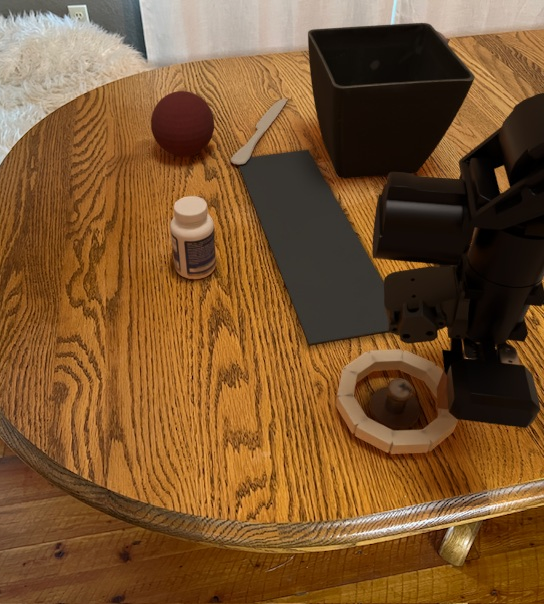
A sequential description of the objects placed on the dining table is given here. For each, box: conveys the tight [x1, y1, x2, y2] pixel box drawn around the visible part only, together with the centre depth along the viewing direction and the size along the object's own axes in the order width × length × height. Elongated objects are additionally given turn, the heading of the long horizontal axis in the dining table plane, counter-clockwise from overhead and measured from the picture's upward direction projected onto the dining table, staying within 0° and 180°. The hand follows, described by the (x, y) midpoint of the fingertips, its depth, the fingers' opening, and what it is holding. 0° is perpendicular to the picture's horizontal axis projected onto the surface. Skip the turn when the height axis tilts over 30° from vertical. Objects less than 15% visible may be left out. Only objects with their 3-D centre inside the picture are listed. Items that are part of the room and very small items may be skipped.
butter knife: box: [230, 98, 289, 166], centre depth 102 cm, size 1×24×3 cm
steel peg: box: [368, 377, 421, 431], centre depth 60 cm, size 5×5×4 cm
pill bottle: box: [169, 195, 217, 280], centre depth 75 cm, size 5×5×10 cm
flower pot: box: [307, 22, 476, 179], centre depth 90 cm, size 19×19×17 cm
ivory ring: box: [335, 348, 459, 455], centre depth 59 cm, size 12×12×7 cm
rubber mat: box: [237, 149, 390, 346], centre depth 83 cm, size 40×12×1 cm, turn 11°
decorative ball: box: [150, 90, 215, 158], centre depth 95 cm, size 10×10×10 cm
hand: (456, 385), depth 58 cm, fingers closed on ivory ring, 2 cm apart
